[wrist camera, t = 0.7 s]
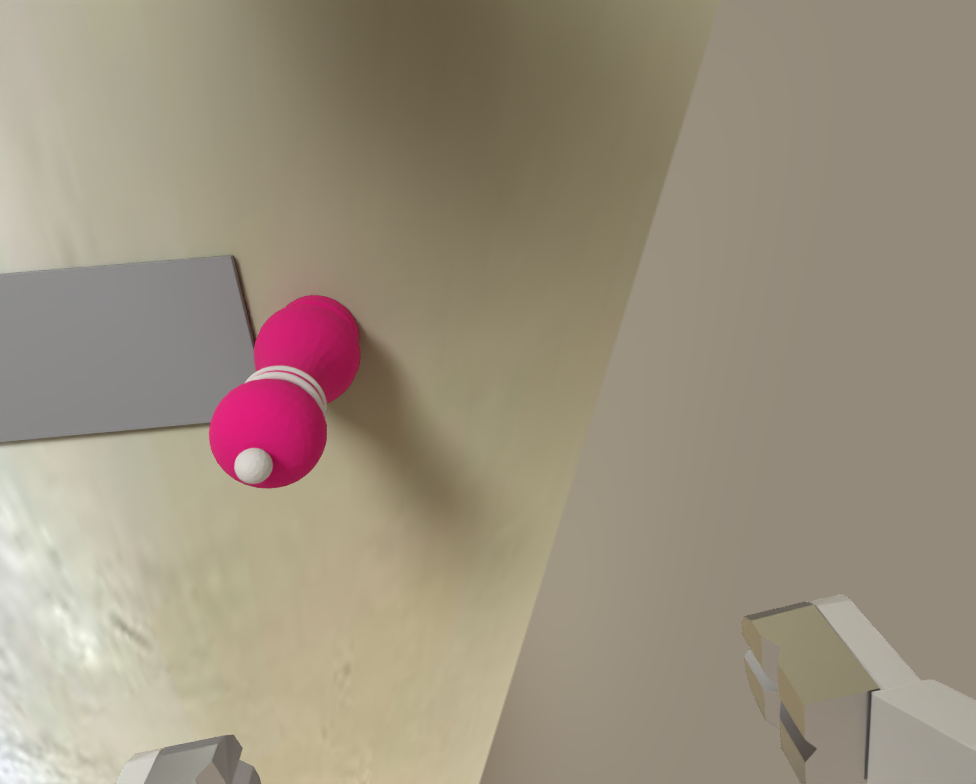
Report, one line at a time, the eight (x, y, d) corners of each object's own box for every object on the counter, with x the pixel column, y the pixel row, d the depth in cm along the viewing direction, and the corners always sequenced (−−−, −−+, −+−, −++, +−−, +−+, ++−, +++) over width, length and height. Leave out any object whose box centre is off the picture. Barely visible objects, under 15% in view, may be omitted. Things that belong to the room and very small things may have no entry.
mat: (233, 254, 44) (230, 256, 44) (271, 413, 50) (269, 416, 49) (-83, 280, 43) (-89, 282, 43) (-7, 439, 49) (-12, 443, 48)
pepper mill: (264, 288, 45) (153, 410, 27) (362, 287, 46) (317, 406, 28) (277, 377, 48) (185, 539, 30) (368, 375, 49) (332, 533, 31)
